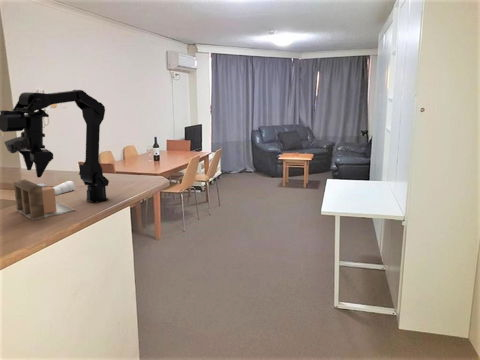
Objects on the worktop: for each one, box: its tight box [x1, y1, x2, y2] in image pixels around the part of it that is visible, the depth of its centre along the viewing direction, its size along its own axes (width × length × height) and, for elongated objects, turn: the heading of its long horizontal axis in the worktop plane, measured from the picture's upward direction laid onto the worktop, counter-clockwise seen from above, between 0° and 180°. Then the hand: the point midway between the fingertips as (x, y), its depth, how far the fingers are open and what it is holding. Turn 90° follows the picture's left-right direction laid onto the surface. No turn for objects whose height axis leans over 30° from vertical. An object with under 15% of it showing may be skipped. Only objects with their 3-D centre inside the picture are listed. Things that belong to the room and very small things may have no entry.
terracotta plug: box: [42, 186, 57, 214], centre depth 138 cm, size 6×4×8 cm, turn 138°
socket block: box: [13, 179, 76, 221], centre depth 142 cm, size 15×15×11 cm
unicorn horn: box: [52, 180, 76, 196], centre depth 163 cm, size 5×24×5 cm, turn 150°
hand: (33, 173), depth 135 cm, fingers open, 9 cm apart
